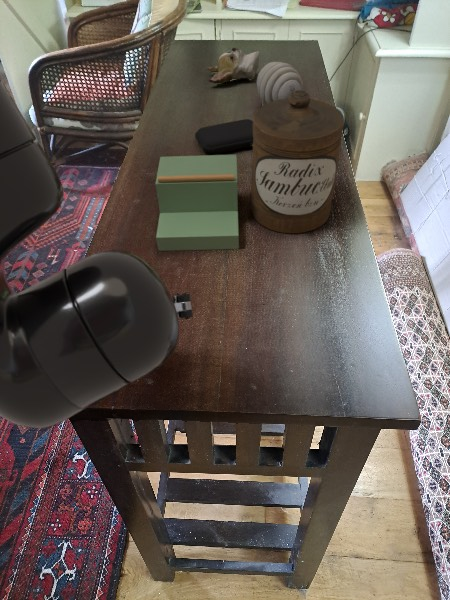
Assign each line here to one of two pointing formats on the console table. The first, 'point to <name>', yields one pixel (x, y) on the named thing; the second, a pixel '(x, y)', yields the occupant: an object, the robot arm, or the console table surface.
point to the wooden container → (295, 162)
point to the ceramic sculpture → (235, 66)
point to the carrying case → (226, 136)
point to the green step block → (197, 203)
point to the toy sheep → (277, 82)
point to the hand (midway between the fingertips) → (135, 310)
